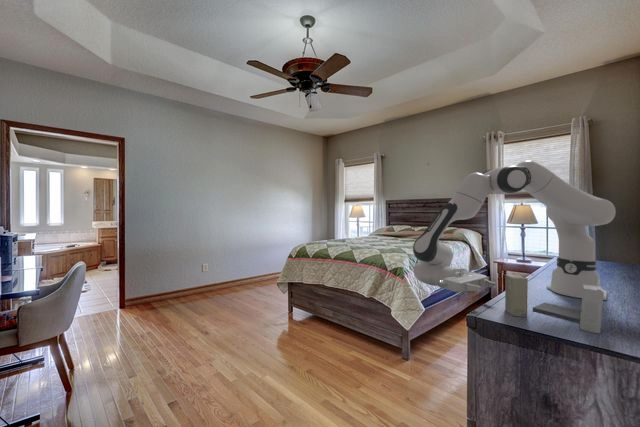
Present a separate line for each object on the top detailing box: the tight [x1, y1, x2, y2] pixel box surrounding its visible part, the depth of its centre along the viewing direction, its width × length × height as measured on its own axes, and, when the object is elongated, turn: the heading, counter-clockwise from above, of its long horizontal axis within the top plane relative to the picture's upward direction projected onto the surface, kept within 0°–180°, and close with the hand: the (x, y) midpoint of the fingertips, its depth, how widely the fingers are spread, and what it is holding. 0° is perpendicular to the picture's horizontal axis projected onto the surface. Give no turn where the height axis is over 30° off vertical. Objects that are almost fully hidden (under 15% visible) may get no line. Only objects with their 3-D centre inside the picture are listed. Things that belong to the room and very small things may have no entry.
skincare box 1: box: [504, 273, 529, 318], centre depth 96 cm, size 6×4×12 cm
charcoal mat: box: [532, 302, 581, 324], centre depth 97 cm, size 10×12×1 cm
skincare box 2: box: [579, 285, 604, 334], centre depth 84 cm, size 6×4×12 cm
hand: (488, 287), depth 103 cm, fingers open, 8 cm apart
